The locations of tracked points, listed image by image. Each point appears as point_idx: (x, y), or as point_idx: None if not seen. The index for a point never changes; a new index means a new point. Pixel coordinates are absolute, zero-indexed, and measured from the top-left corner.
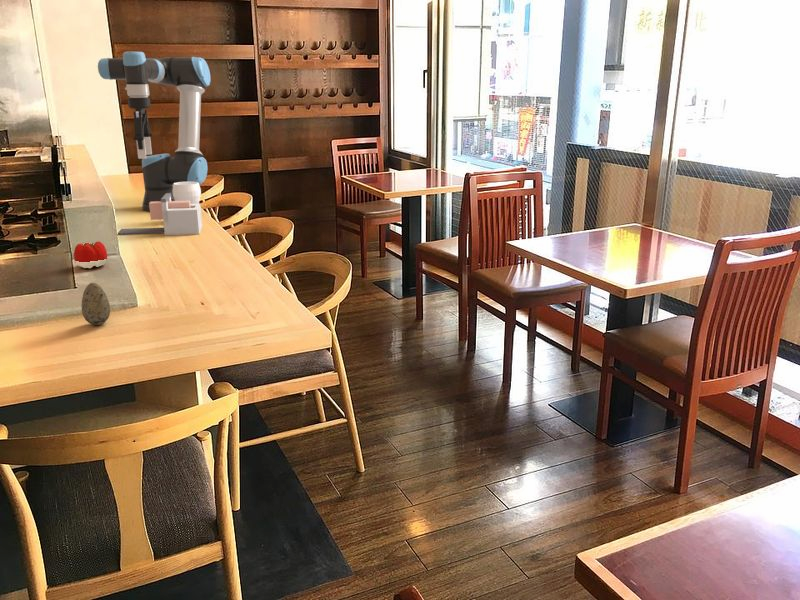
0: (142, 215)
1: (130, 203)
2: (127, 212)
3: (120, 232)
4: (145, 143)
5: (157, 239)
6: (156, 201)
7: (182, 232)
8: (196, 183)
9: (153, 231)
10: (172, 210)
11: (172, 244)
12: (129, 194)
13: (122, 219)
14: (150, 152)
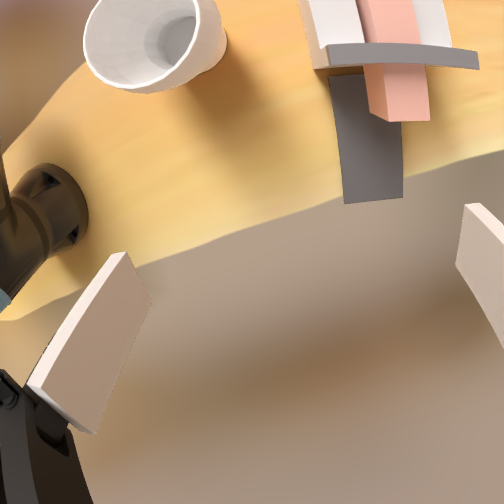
0: (133, 217)
1: (42, 285)
2: None
3: (392, 192)
4: (104, 364)
5: (459, 81)
6: (388, 97)
7: None
8: (102, 5)
9: None
10: (449, 33)
11: (500, 46)
12: None
13: (191, 248)
14: (122, 270)
